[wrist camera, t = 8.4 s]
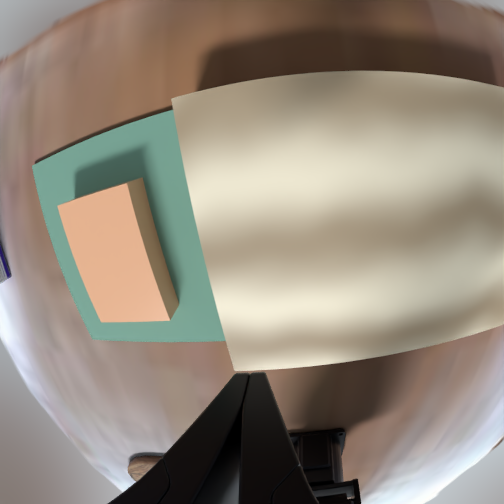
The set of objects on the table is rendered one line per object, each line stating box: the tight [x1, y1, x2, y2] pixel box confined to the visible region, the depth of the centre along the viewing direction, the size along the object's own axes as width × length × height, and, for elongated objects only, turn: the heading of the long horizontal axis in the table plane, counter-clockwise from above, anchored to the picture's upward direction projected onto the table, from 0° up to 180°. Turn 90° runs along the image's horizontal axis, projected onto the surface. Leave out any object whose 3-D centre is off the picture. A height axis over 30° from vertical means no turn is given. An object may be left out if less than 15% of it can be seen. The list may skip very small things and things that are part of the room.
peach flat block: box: [57, 177, 179, 322], centre depth 18 cm, size 9×6×2 cm, turn 10°
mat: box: [32, 110, 226, 342], centre depth 19 cm, size 16×14×1 cm
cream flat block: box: [171, 71, 504, 371], centre depth 15 cm, size 16×20×4 cm
